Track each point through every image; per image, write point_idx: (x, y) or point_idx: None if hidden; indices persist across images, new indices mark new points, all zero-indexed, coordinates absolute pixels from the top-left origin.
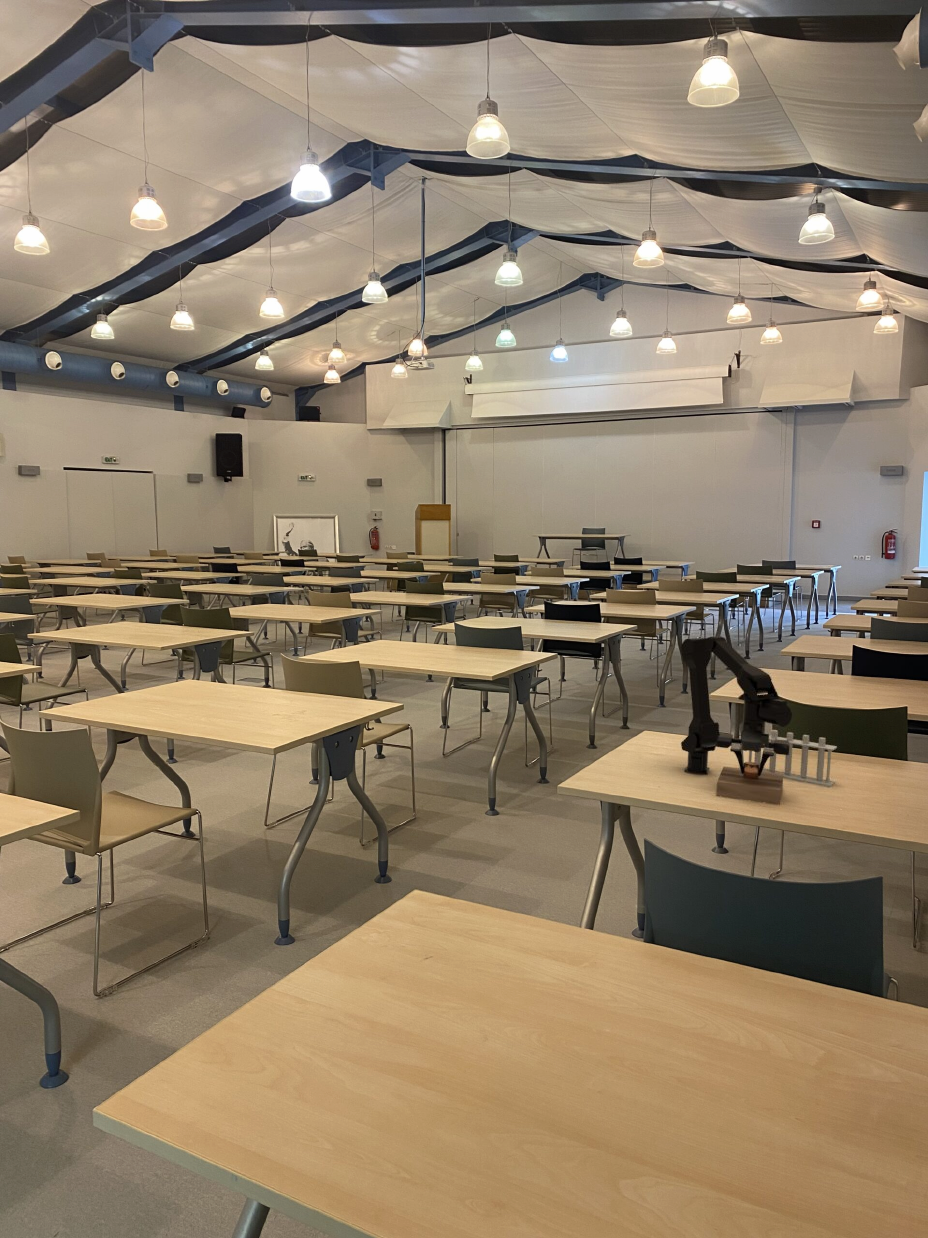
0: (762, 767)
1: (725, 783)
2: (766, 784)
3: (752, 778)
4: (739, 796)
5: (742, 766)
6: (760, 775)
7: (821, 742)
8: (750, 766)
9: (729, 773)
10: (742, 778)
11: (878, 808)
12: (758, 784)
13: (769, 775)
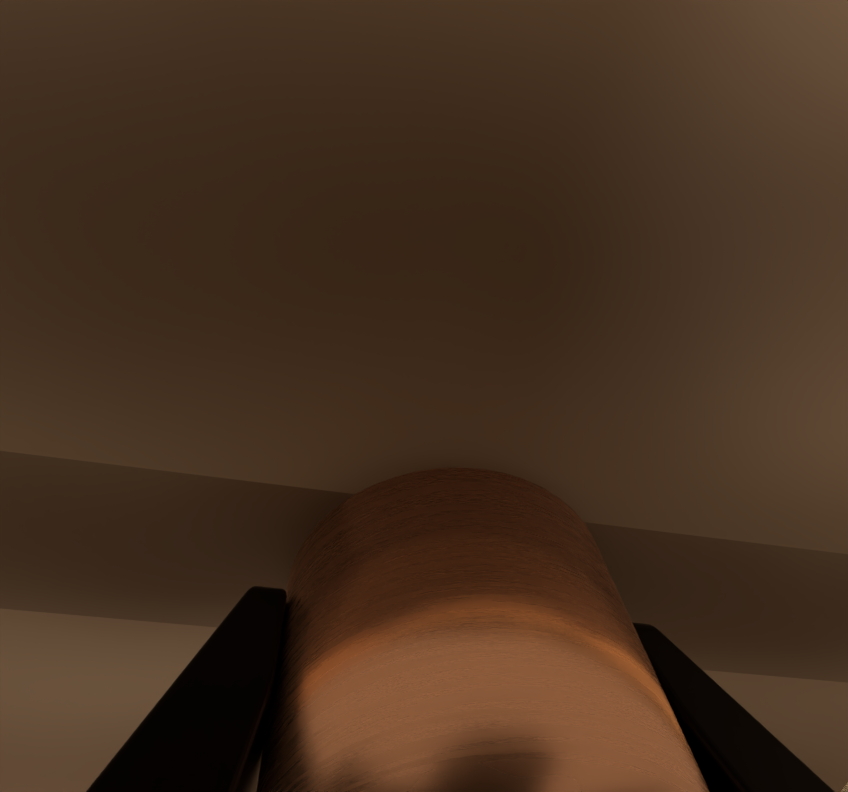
0: (132, 784)
1: None
2: (89, 148)
3: (437, 471)
4: None
5: (748, 771)
6: None
7: None
8: (575, 740)
9: (786, 690)
10: (636, 484)
11: None
12: (320, 81)
13: (84, 780)
